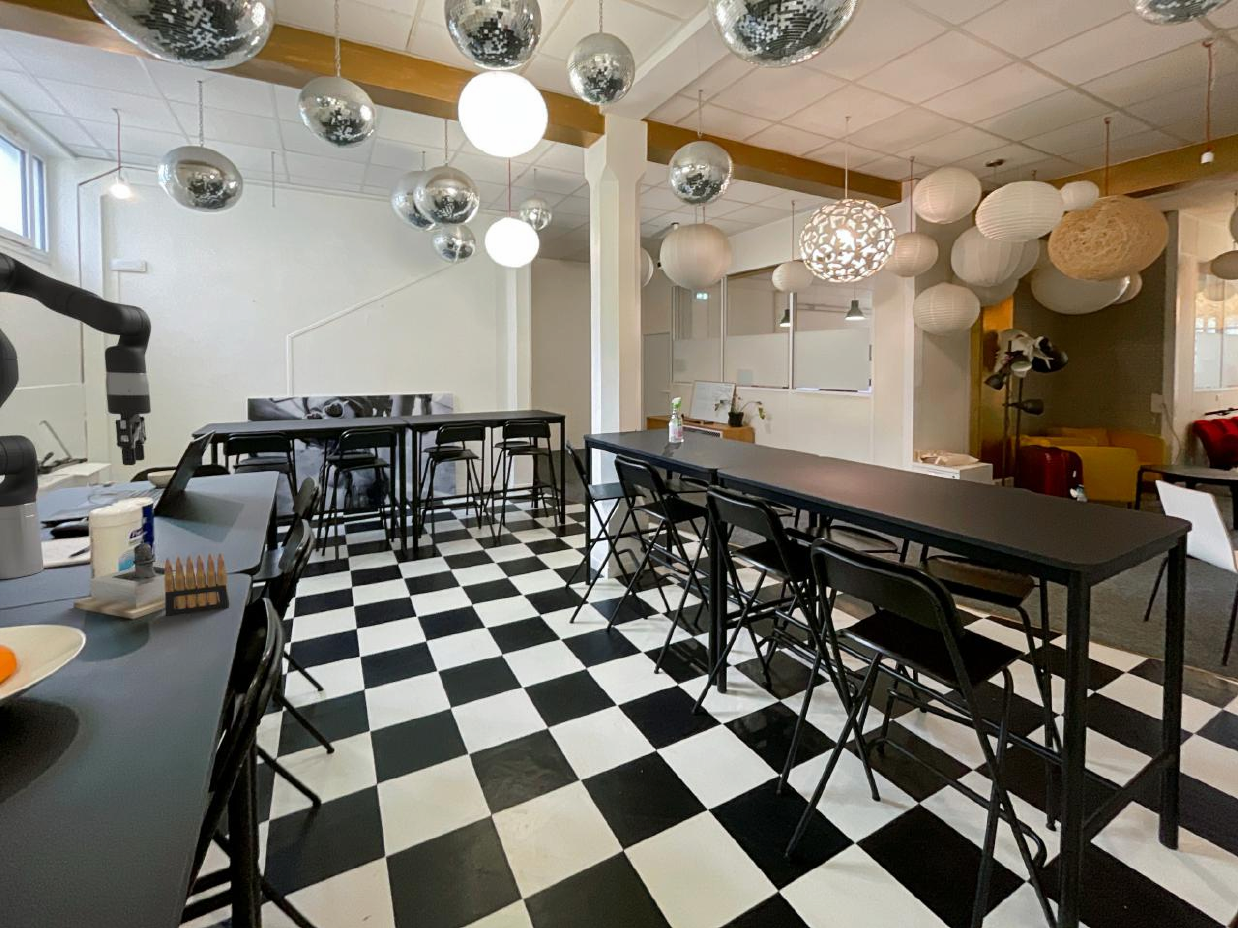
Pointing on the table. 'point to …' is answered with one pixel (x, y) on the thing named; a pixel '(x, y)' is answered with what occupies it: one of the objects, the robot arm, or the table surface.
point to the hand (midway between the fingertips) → (134, 462)
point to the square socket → (131, 587)
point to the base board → (119, 608)
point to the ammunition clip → (195, 587)
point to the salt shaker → (143, 563)
